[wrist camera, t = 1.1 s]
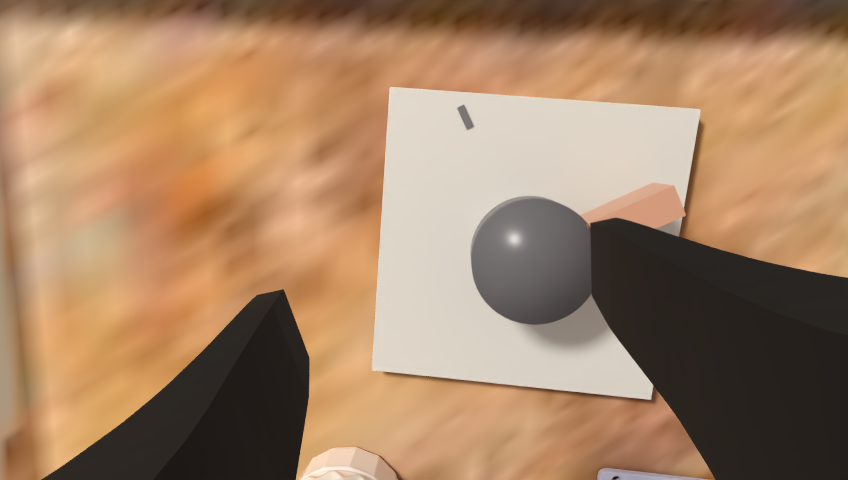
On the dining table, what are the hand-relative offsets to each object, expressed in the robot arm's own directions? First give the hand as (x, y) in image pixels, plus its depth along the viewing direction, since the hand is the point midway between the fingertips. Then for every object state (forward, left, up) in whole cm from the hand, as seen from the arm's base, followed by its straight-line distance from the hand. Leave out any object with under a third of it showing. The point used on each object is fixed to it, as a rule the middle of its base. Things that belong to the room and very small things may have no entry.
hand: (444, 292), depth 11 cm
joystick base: (-4, +2, -16) cm, 17 cm away
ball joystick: (-6, +1, -14) cm, 15 cm away
